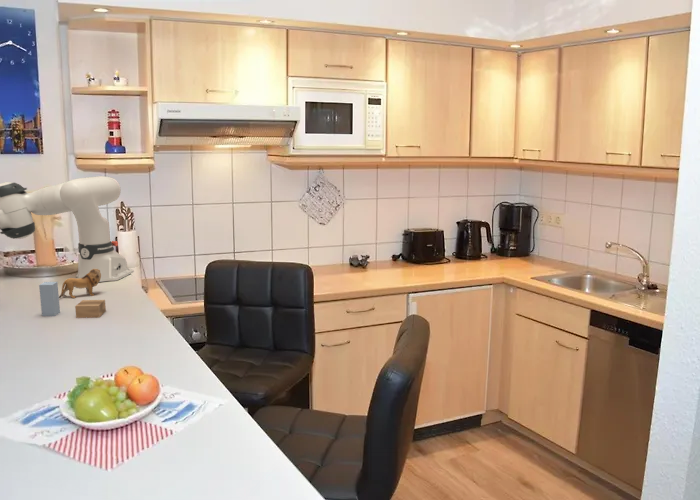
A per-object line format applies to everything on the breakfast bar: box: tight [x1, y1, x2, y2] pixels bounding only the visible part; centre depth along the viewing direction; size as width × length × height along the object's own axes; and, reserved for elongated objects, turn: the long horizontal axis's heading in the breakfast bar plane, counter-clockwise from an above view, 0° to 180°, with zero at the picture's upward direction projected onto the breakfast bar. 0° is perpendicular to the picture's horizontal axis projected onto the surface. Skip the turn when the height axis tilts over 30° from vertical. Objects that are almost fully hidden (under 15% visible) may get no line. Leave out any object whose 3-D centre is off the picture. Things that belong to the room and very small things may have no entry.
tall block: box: [38, 281, 61, 317], centre depth 206 cm, size 4×4×10 cm
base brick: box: [74, 299, 107, 319], centre depth 207 cm, size 7×7×4 cm
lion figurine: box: [59, 269, 101, 299], centre depth 227 cm, size 15×5×9 cm, turn 130°
